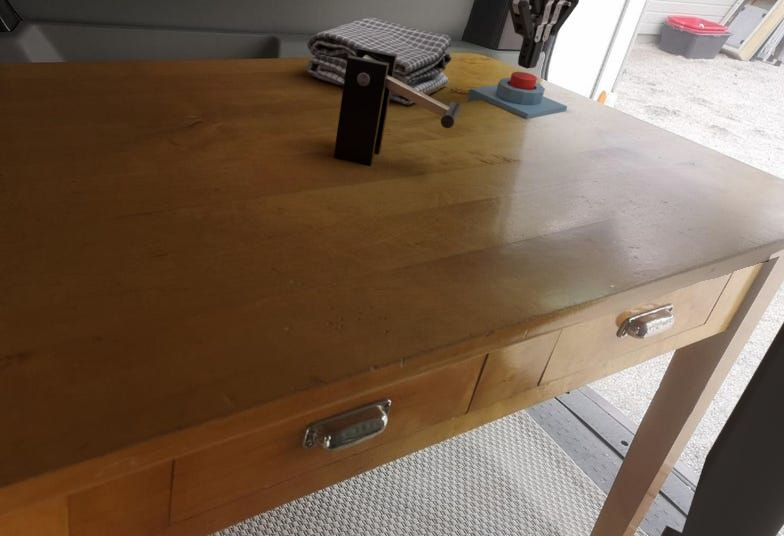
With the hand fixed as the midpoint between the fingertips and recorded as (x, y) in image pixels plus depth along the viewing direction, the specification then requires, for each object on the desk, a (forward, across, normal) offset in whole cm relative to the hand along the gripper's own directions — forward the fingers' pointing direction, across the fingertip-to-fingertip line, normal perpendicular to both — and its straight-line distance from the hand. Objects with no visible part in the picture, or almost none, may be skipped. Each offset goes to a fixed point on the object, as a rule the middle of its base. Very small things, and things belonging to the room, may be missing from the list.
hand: (526, 66), depth 109 cm
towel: (+7, -12, +17) cm, 22 cm away
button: (+3, 0, 0) cm, 3 cm away
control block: (+7, 0, 0) cm, 7 cm away
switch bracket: (+7, -36, -6) cm, 37 cm away
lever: (-2, -34, -10) cm, 35 cm away
